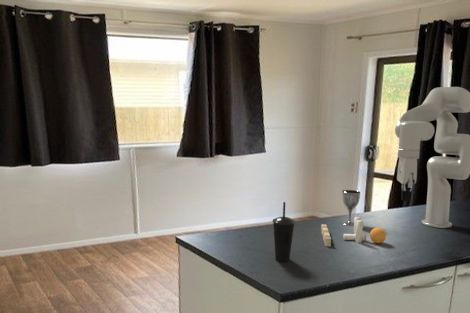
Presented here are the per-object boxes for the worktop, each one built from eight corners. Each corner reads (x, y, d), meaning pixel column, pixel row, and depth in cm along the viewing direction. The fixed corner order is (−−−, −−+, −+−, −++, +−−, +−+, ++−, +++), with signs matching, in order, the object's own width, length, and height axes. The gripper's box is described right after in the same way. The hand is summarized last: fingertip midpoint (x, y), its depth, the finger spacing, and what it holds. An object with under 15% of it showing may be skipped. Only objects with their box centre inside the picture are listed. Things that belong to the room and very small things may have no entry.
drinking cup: (296, 257, 146) (298, 201, 143) (289, 264, 139) (291, 205, 136) (275, 254, 149) (277, 199, 146) (268, 260, 142) (269, 203, 140)
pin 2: (354, 241, 166) (356, 220, 165) (361, 241, 165) (362, 220, 164) (355, 242, 163) (357, 221, 162) (362, 243, 163) (363, 222, 162)
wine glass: (344, 220, 197) (345, 189, 195) (361, 223, 192) (362, 191, 191) (337, 223, 190) (339, 191, 189) (354, 227, 186) (356, 193, 184)
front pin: (365, 239, 168) (343, 238, 169) (365, 234, 167) (343, 232, 168) (366, 241, 165) (344, 240, 166) (366, 235, 165) (344, 234, 166)
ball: (375, 222, 164) (386, 229, 166) (364, 231, 166) (375, 238, 168) (380, 231, 159) (391, 239, 161) (369, 241, 161) (380, 248, 163)
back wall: (321, 231, 178) (321, 224, 178) (325, 231, 178) (326, 224, 178) (325, 246, 158) (325, 238, 158) (330, 246, 158) (331, 238, 158)
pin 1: (352, 237, 171) (354, 216, 170) (359, 237, 170) (360, 217, 169) (353, 239, 168) (355, 218, 167) (359, 239, 168) (361, 218, 167)
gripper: (393, 151, 169) (391, 196, 171) (404, 155, 154) (400, 204, 156) (413, 152, 168) (410, 197, 170) (425, 156, 153) (421, 205, 155)
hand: (405, 200), depth 163 cm, fingers closed
